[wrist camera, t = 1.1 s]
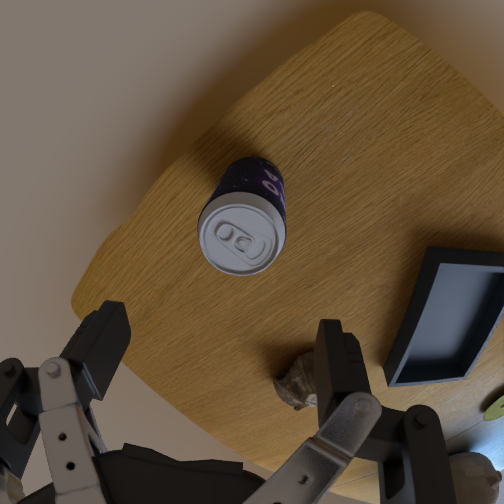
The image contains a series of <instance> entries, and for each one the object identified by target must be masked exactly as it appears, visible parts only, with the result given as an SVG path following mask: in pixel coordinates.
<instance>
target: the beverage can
mask: <svg viewBox="0 0 504 504" xmlns="http://www.w3.org/2000/svg"><path fill="white" fill-rule="evenodd" d="M197 229H198V237H199V242H200V247H201V250H202V252H203V254H204V256H205V257H206V259H207V260H208V261H209V262H210V263H211V264H212V265H213V266H214V267H215V268H217V269H218V270H220V271H222V272H224V273H227V274H230V275H235V276H248V275H253V274H256V273H259V272H261V271H263V270H264V269H266V268H267V267H268V266H269V265H270V264H271V263H272V262H273V261H274V260H275V258H276V257H277V256H278V255H279V253H280V252H281V250H282V248H283V246H284V244H285V240H286V215H285V197H284V183H283V178H282V176H281V173H280V172H279V170H278V169H277V168H276V166H274V165H273V164H272V163H271V162H269V161H268V160H266V159H263V158H260V157H244V158H241V159H239V160H237V161H235V162H233V163H232V164H231V165H230V166H229V167H228V168H227V170H226V171H225V173H224V174H223V176H222V178H221V179H220V181H219V183H218V184H217V186H216V188H215V189H214V191H213V193H212V194H211V196H210V198H209V200H208V201H207V203H206V205H205V206H204V208H203V210H202V212H201V214H200V216H199V220H198V227H197Z"/></svg>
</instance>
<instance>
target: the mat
mask: <svg viewBox="0 0 504 504" xmlns="http://www.w3.org/2000/svg"><path fill="white" fill-rule="evenodd" d="M503 415H504V396H502V397H501V398H499V399H498V400H497V401H496V402H494V403H493V404H492V405H491V406H490V407H489V408H488V409H487V411H486V412H485V413H484V416H483V419H484V420H485V421H490V420H494V419H497V418H499V417H501V416H503Z"/></svg>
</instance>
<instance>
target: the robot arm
mask: <svg viewBox="0 0 504 504" xmlns="http://www.w3.org/2000/svg"><path fill="white" fill-rule="evenodd" d="M130 339H131V329H130V325H129V321H128V317H127V313H126V309H125V305H124V303H123V302H117V301H110V300H106V301H104V302H103V304H102V305H101V307H100V308H99V310H98V311H96V310H94V311H93V312H92V313H90V314H89V315H87V316H86V317H85V318H84V320H83V321H82V323H81V324H80V327H78V329H77V330H76V332H75V334H74V335H73V336H72V338H71V339H70V341H69V342H68V344H67V345H66V347H65V348H64V350H63V351H62V353H61V354H60V356H59V357H54V358H50V359H48V360H46V361H45V362H43V363H42V365H41V366H40V367H39V368H38V367H36V368H24V366H23V364H22V363H21V361H20V360H19V359H17V358H9V359H6V360H4V361H2V362H1V363H0V504H318V503H319V501H320V500H321V499H322V498H323V497H324V496H325V494H326V493H327V492H328V491H329V489H330V488H331V487H332V486H333V484H334V483H335V482H336V480H337V479H338V478H339V477H340V475H341V474H342V473H343V471H344V470H345V469H346V467H347V466H348V465H349V463H350V462H351V460H352V459H353V458H354V457H358V458H362V459H367V460H372V461H376V462H378V474H379V488H380V504H457V501H456V494H455V488H454V483H453V477H452V472H451V467H450V462H449V458H448V453H447V448H446V444H445V440H444V436H443V432H442V428H441V424H440V420H439V417H438V415H437V413H436V412H435V411H434V410H433V409H432V408H430V407H428V406H426V405H414V406H411V407H410V408H408V409H407V411H406V412H404V411H399V410H394V409H390V408H387V407H384V406H382V405H381V404H380V402H379V400H378V399H377V398H376V397H375V396H373V395H372V393H371V389H370V385H369V381H368V376H367V372H366V368H365V364H364V362H363V361H364V360H363V356H362V354H361V353H362V352H361V348H360V344H359V341H358V340H357V339H356V337H355V336H354V335H353V334H352V333H343V331H342V326H341V322H340V320H337V319H321V320H320V323H319V328H318V332H317V337H316V342H315V346H314V357H313V360H314V372H315V383H316V395H317V408H318V422H319V428H320V429H319V430H318V432H317V433H316V434H315V435H314V436H313V437H309V438H308V439H307V440H305V441H304V443H303V444H302V445H301V446H300V447H299V448H298V449H297V450H296V451H295V452H294V453H293V454H292V455H291V457H290V458H289V459H288V460H287V461H286V462H285V463H284V464H283V465H282V466H281V467H280V468H279V469H278V470H277V471H276V472H275V473H274V474H273V475H272V476H271V477H270V478H269V479H268V480H267V481H266V480H265V479H263V478H262V477H260V476H258V475H256V474H254V473H252V472H249V471H246V470H243V462H232V461H222V460H214V459H210V460H198V461H177V460H175V459H172V458H170V457H168V456H166V455H163V454H161V453H159V452H157V451H155V450H153V449H149V448H145V447H140V446H136V445H132V444H128V443H124V446H123V448H122V450H113V451H108V450H107V448H106V447H105V445H104V443H103V440H102V438H101V435H100V432H99V429H98V426H97V423H96V420H95V417H94V414H93V411H92V408H91V405H90V402H91V400H92V398H93V399H97V400H100V401H102V400H103V397H104V395H105V393H106V391H107V389H108V387H109V385H110V382H111V380H112V378H113V376H114V374H115V372H116V370H117V368H118V366H119V363H120V361H121V359H122V357H123V355H124V353H125V351H126V349H127V347H128V345H129V343H130ZM14 403H15V404H16V406H17V408H16V410H15V412H14V414H13V416H12V418H11V420H10V422H9V424H8V426H7V424H6V420H7V417H8V415H9V413H10V411H11V409H12V407H13V405H14ZM40 431H41V433H42V439H43V443H44V448H45V452H46V456H47V461H48V465H49V469H50V473H51V477H52V480H53V482H51V483H50V484H48V485H46V486H44V487H43V488H41V489H39V490H37V491H35V492H34V493H32V494H30V495H28V496H26V497H25V494H24V492H23V486H22V483H21V478H22V476H23V473H24V470H25V467H26V465H27V463H28V460H29V457H30V455H31V452H32V450H33V447H34V445H35V442H36V440H37V438H38V436H39V433H40Z"/></svg>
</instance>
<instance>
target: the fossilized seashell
mask: <svg viewBox="0 0 504 504" xmlns="http://www.w3.org/2000/svg"><path fill="white" fill-rule="evenodd" d="M313 357H314V351H309V352H306V353H304V354H302V355H300V356H299V357H298V358H297V359H296V360H295V361H294V362H293V364H292V365H291V366H290V368H289V370H288V372H287V373H284V374H280V375H277V376H276V377H274V383H273V384H274V387H275V389H276V391H277V394H278V395H279V397H280V398H281V399H282V400H283V401H284V402H286V403H287V404H289V405H291V406H293V407H294V409H295V410H296V411H298V410H300V409H302V408H304V407H307V406H311V407H315V406H317V395H316V383H315V372H314V360H313Z"/></svg>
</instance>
